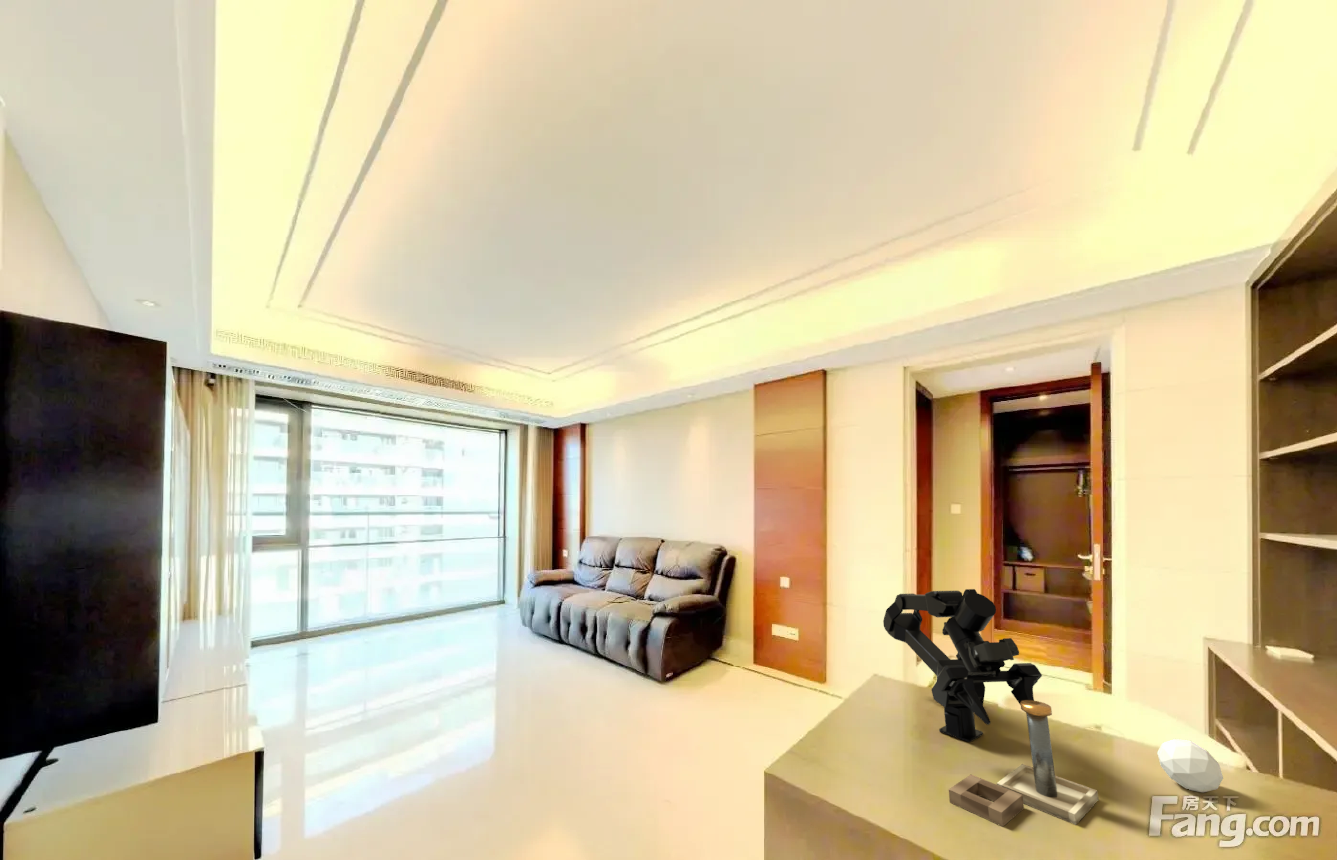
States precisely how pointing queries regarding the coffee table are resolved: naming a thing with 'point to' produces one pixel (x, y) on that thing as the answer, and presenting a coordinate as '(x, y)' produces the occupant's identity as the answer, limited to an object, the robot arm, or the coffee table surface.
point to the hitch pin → (1040, 746)
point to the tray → (1065, 806)
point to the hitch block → (996, 811)
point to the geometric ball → (1190, 765)
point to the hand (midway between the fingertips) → (1012, 723)
